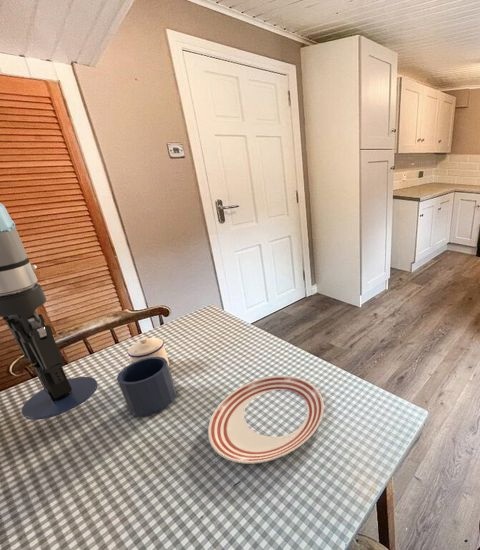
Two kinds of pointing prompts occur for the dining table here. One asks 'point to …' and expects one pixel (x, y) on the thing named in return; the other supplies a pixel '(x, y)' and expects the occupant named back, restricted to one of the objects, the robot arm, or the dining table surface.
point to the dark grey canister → (147, 386)
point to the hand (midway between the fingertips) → (58, 390)
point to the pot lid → (49, 406)
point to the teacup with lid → (147, 349)
